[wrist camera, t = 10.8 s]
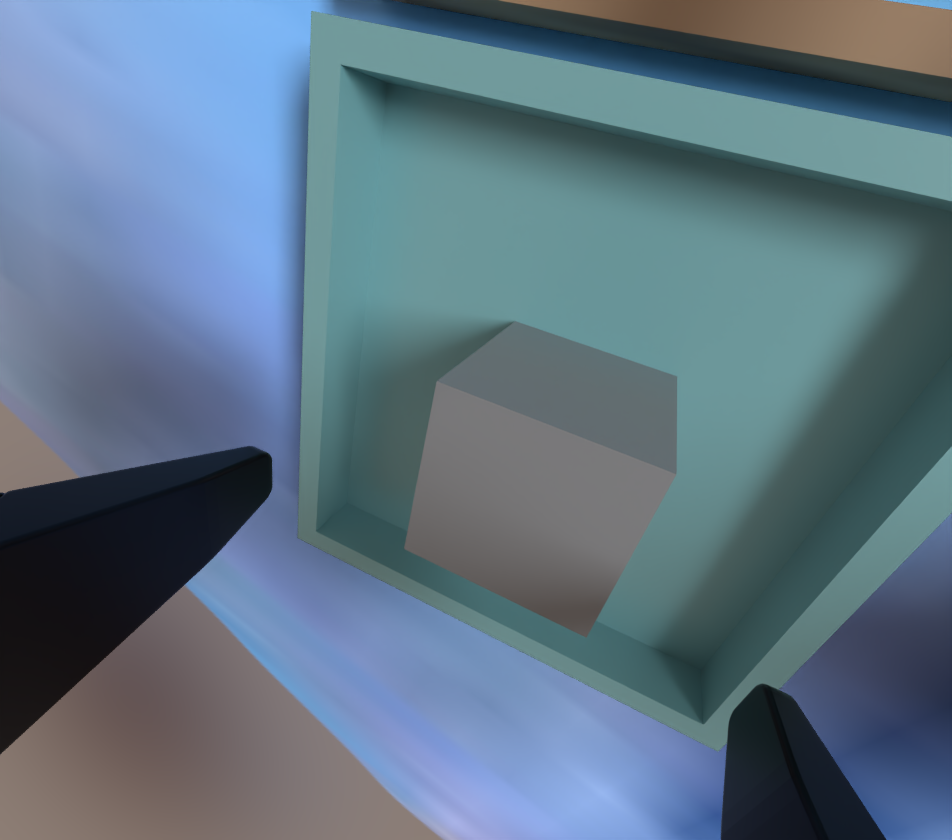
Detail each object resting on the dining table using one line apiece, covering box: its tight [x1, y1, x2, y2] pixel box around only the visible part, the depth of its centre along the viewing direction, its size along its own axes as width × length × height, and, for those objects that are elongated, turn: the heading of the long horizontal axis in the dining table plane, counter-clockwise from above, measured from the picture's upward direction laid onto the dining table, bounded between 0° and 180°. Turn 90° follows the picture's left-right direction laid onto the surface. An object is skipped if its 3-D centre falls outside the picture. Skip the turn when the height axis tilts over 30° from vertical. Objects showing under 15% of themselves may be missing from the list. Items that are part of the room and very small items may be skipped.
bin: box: [298, 11, 952, 751], centre depth 13 cm, size 16×16×2 cm
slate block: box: [404, 321, 677, 637], centre depth 11 cm, size 4×4×5 cm
